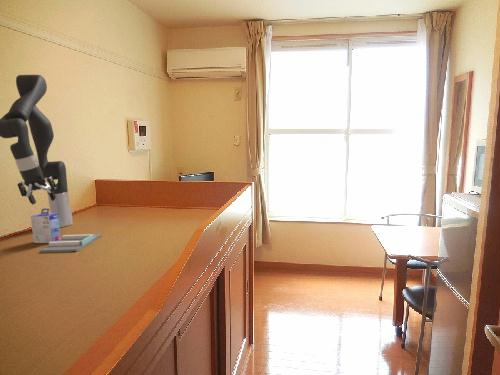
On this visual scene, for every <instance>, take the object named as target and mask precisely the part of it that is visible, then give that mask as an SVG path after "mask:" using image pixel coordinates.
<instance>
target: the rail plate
mask: <svg viewBox="0 0 500 375" xmlns="http://www.w3.org/2000/svg"><path fill="white" fill-rule="evenodd" d="M101 236H102V237H103V234H95V233H92V234H91V233H90V234H64V235H62V236H61V240H59V241H57V242H49V243H48V246H46V247H44V248H42V249H40V250H39V252H40V253H41V254H42V253H47V254H48V253H68V252H69V253H72V252H71V251H77V252H78V250H79V251H80V250H82V249H84V248H85V247H88V244H89V245H90V244H92V243H93V241H94V242H95V241H97V240H98V238H99V237H100V238H102V237H101ZM100 238H99V239H100ZM96 239H97V240H96ZM91 242H92V243H91ZM83 247H84V248H83Z"/></svg>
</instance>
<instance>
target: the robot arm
mask: <svg viewBox="0 0 500 375" xmlns="http://www.w3.org/2000/svg"><path fill="white" fill-rule="evenodd" d="M15 83H16V88H17V92H18V94H19V95H18V96H19V98H17V99H16V100H15V101H14V102H13V103H12V105H11V106H10V109H9V110H8V112H7V113H5V114H4V115H3V116H2V117H1V118H0V138H3V139H12V138H17V142H15V143H13V144H10V147H9V148H10V149H9V150H10V151H11V154H12V156H13V158H14V161H15V165H16V167H17V170H18V171H19V174H20V177H21V178H22V180H23V181H20V182H17V187H18V189H19V190H18V191H19V193H20V195H21V196H22V197H27V199H28V201H29V203H30V204H31V205H36V204H37V200H36V199H35V197H34V194H33V192H34V191H38V190H39V191H40V190H43V191H46V192H47V200H48V205H49V213H58V220H59V227H60V228H62V227H63V228H64V227H68V226H71V225H73V222H74V220H73V214H72V206H71V204H70V199H69V191H68V190H69V189H68V179H67V168H66V167H67V166H66V164H65V162H63V161H62V160H57V161H56V160H54V161H49V160H48V152H49V149H50V148H51V145H52V143H53V141H54V136H55V135H54V130H53V125H52V122H51V120H50V119H49V118H48V117H47V116H46V115H45V114H44V113H43V112H42V111H41V110H40V108H38V107H37V104H38V103H39V102H40V100H41V99H42V98H43V97H44V96H45V94H46V92H47V88H48V85H47V81H46V78H44V76H42V75H41V74H19V75H17V76H16V79H15ZM26 122H27V123H26ZM28 126H29V127H28ZM29 130H30V135H31V137H32V140H33V144H34V147H35V148H34V149H35V152H36V155H35V153H34V152H33V151H34V150H33V149H32V146H31V143H30V136H29ZM55 180H57V183H56V182H55ZM26 187H27V189H26Z"/></svg>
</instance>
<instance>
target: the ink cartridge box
mask: <svg viewBox="0 0 500 375" xmlns="http://www.w3.org/2000/svg"><path fill="white" fill-rule="evenodd" d="M30 222H31V230H32V237H33V238H32V239H33V243H34V244H49V242H58V241H59V240H61V239H62V236H61V227H59V220H58V213H50V208H42V209H41V211H40V213H36V214H32V215H30Z"/></svg>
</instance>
